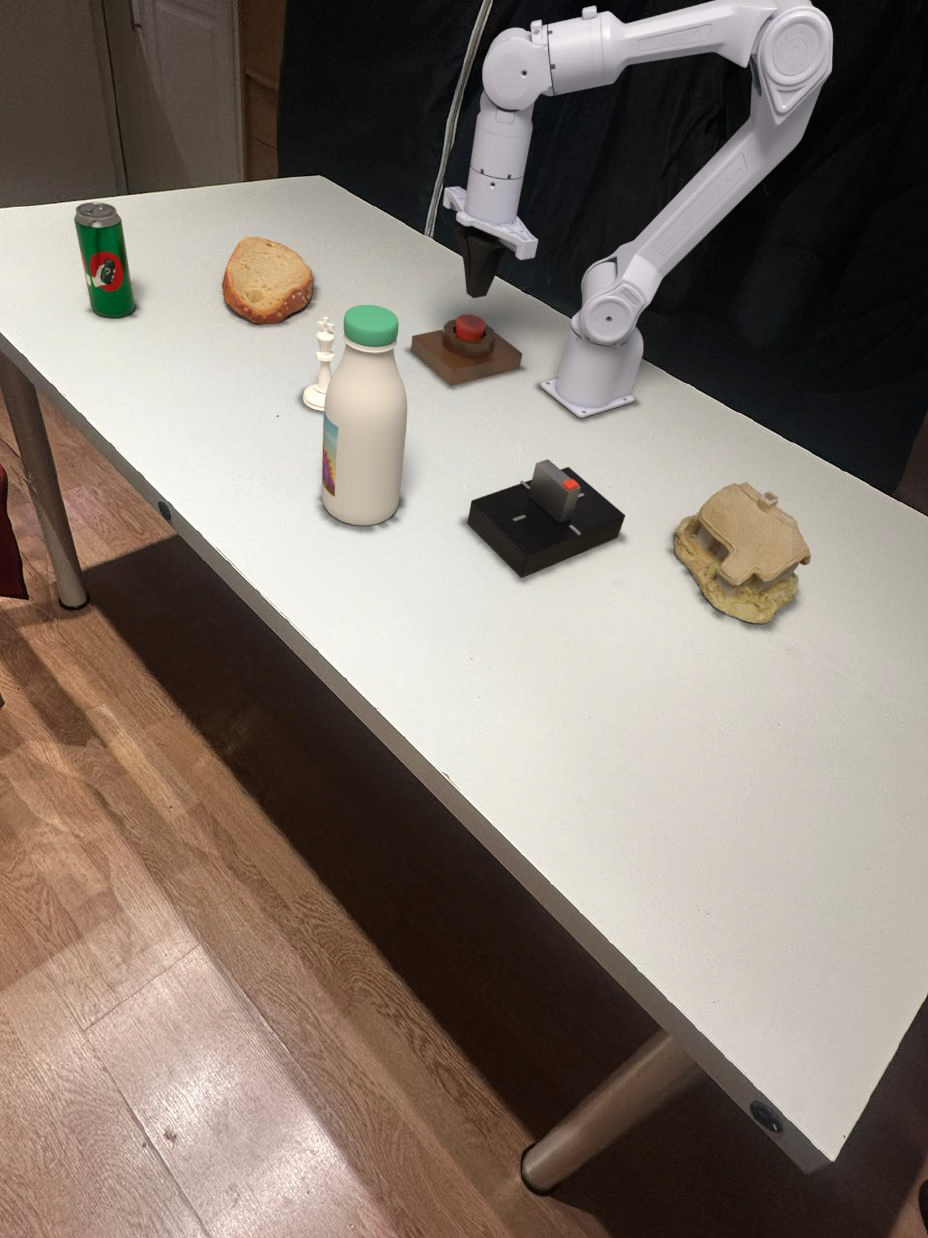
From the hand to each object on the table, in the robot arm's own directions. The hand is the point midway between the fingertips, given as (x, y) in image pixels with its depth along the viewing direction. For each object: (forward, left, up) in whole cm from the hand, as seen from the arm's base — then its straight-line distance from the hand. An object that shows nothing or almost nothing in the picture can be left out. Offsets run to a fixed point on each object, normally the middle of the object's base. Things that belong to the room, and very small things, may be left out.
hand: (476, 294), depth 96 cm
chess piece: (+19, -2, -11) cm, 22 cm away
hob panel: (+10, +28, -10) cm, 32 cm away
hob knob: (+10, +28, -7) cm, 31 cm away
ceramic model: (-3, +42, -11) cm, 44 cm away
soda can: (+33, -30, -11) cm, 46 cm away
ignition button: (-2, -3, -7) cm, 8 cm away
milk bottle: (+25, +16, -11) cm, 31 cm away
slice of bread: (+13, -30, -11) cm, 34 cm away
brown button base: (-2, -3, -10) cm, 11 cm away
